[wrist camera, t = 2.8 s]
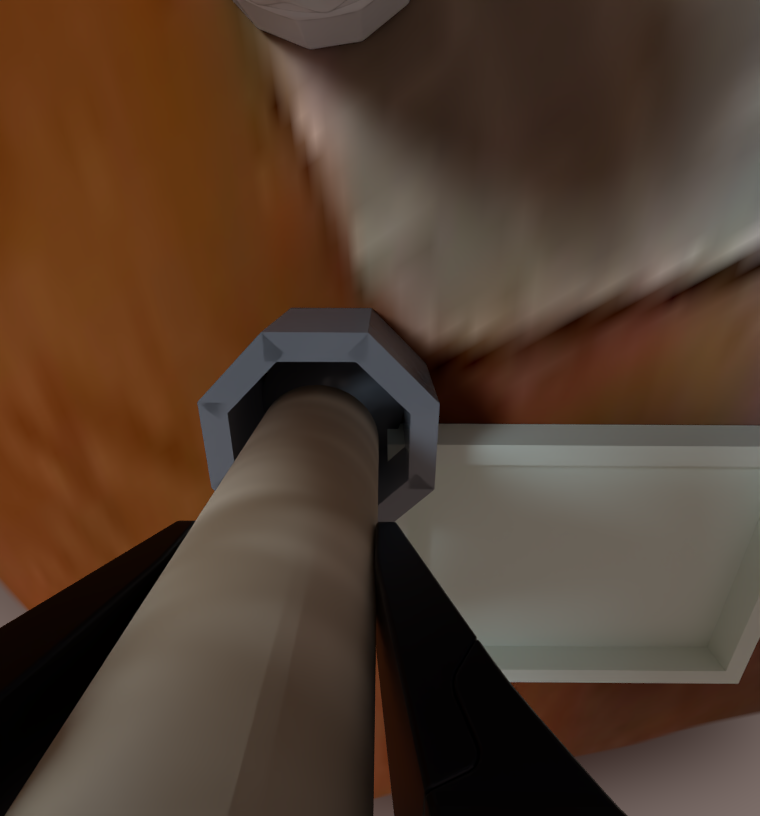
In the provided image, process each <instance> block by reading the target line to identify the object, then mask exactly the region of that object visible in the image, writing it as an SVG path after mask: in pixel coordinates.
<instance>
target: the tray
mask: <svg viewBox="0 0 760 816" xmlns="http://www.w3.org/2000/svg"><path fill="white" fill-rule="evenodd" d="M404 447H405V440H404V430H403V423H400V425H399V428H398V429H387V456H388V461H389V460H390V459H391V458H392V457H393V456H395V455H396V454H397V453H398V452H399V451H400V450H402V449H403V448H404ZM395 522H396V523H397V524H398V526H399V527H400V529H401V530H402V531H403V533H404V534H405V536H406V537H407V538H408V540H409V541H410V543H411V544H412V546H413V547H414V548H415V550H416V551H417V553H418V554H419V556H420V557H421V558H422V560H423V561H424V563H425V564H426V566H427V567H428V568H429V570H430V571H431V573H432V574H433V575H434V577H435V578H436V580H437V581H438V583H439V584H440V585H441V587H442V588H443V590H444V591H445V593H446V594H447V595H448V597H449V598H450V600H451V601H452V603H453V604H454V605H455V607H456V608H457V610H458V611H459V612H460V614H461V615H462V617H463V618H464V620H465V621H466V622H467V624H468V625H469V627H470V628H471V630H472V631H473V632H474V634H475V635H476V637H477V640H479V641H480V642H481V643H482V645H483V646H484V648H485V649H486V651H487V652H488V654H489V655H490V656H491V658H492V659H493V661H494V662H495V663H496V665H497V666H498V667H499V669H500V670H501V671H502V673H503V674H504V675H505V677H506V678H507V679H508V681H509V682H579V683H712V684H738V683H739V681H740V679H741V677H742V675H743V672H744V670H745V668H746V666H747V664H748V662H749V660H750V657H751V655H752V653H753V651H754V649H755V647H756V644H757V642H758V640H759V638H760V426H752V425H578V424H438V440H437V456H436V473H435V489H434V490H433V491H432V492H431V493H430V494H428V495H427V496H426V497H425V498H423V499H422V500H421V501H420V502H418V503H417V504H416V505H415V506H413V507H412V508H411V509H410V510H408V511H407V512H406V513H405V514H403V515H402V516H401V517H400V518H399V519H397V520H396V521H395Z"/></svg>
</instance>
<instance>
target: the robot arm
mask: <svg viewBox="0 0 760 816" xmlns="http://www.w3.org/2000/svg"><path fill="white" fill-rule="evenodd" d="M194 523H195V521H177V522H175V523H173V524H172V525H170V526H168V527H167V528H165V529H163V530H162V531H160V532H158V533H157V534H155V535H153V536H152V537H150V538H148V539H147V540H145V541H143V542H142V543H140V544H138V545H137V546H135V547H133V548H132V549H130V550H129V551H127V552H125V553H124V554H122V555H120V556H119V557H117V558H115V559H114V560H112V561H110V562H109V563H107V564H105V565H104V566H102V567H100V568H99V569H97V570H95V571H94V572H92V573H90V574H89V575H87V576H85V577H84V578H82V579H80V580H79V581H77V582H75V583H74V584H72V585H70V586H69V587H67V588H65V589H64V590H62V591H60V592H59V593H57V594H56V595H54V596H52V597H51V598H49V599H47V600H46V601H44V602H42V603H41V604H39V605H37V606H36V607H34V608H32V609H31V610H29V611H27V612H26V613H24V614H22V615H21V616H19V617H18V618H16V619H14V620H12V621H11V622H9V623H7V624H6V625H4V626H3V627H1V628H0V816H5V814H6V813H7V811H8V809H9V808H10V806H11V805H12V803H13V802H14V800H15V799H16V797H17V796H18V794H19V793H20V791H21V789H22V788H23V786H24V785H25V783H26V782H27V780H28V779H29V777H30V776H31V774H32V772H33V771H34V769H35V768H36V766H37V765H38V763H39V762H40V760H41V759H42V757H43V756H44V754H45V752H46V751H47V749H48V748H49V746H50V745H51V743H52V742H53V740H54V739H55V737H56V735H57V734H58V732H59V731H60V729H61V728H62V726H63V725H64V723H65V722H66V720H67V719H68V717H69V715H70V714H71V712H72V711H73V709H74V708H75V706H76V705H77V703H78V702H79V700H80V698H81V697H82V695H83V694H84V692H85V691H86V689H87V688H88V686H89V685H90V683H91V682H92V680H93V678H94V677H95V675H96V674H97V672H98V671H99V669H100V668H101V666H102V665H103V663H104V662H105V660H106V658H107V657H108V655H109V654H110V652H111V651H112V649H113V648H114V646H115V645H116V643H117V641H118V640H119V638H120V637H121V635H122V634H123V632H124V631H125V629H126V628H127V626H128V625H129V623H130V621H131V620H132V618H133V617H134V615H135V614H136V612H137V611H138V609H139V608H140V606H141V604H142V603H143V601H144V600H145V598H146V597H147V595H148V594H149V592H150V591H151V589H152V588H153V586H154V584H155V583H156V581H157V580H158V578H159V577H160V575H161V574H162V572H163V571H164V569H165V568H166V566H167V564H168V563H169V561H170V560H171V558H172V557H173V555H174V554H175V552H176V551H177V549H178V547H179V546H180V544H181V543H182V541H183V540H184V538H185V537H186V535H187V534H188V532H189V531H190V529H191V527H192V526H193V524H194ZM375 588H376V652H377V661H378V670H379V679H380V689H381V698H382V707H383V716H384V726H385V735H386V744H387V754H388V763H389V772H390V781H391V791H392V800H393V809H394V816H627V815H626V814H625V813H624V812H623V811H622V810H621V809H620V808H619V807H618V806H617V805H616V804H615V803H614V802H613V801H612V799H611V798H610V797H609V796H608V795H607V794H606V793H605V792H604V791H603V790H602V788H601V787H600V786H599V785H598V784H597V783H596V782H595V780H594V779H593V778H592V777H591V776H590V775H589V774H588V773H587V771H585V769H584V768H583V767H582V766H581V764H580V763H579V762H578V761H577V760H576V759H575V758H574V756H573V755H572V754H571V753H570V752H569V751H568V750H567V748H566V747H565V746H564V745H563V744H562V743H561V742H560V740H559V739H558V738H557V737H556V736H555V735H554V734H553V733H552V731H551V730H550V729H549V728H548V727H547V726H546V725H545V723H544V722H543V721H542V720H541V719H540V718H539V717H538V715H537V714H536V713H535V712H534V711H533V710H532V708H531V707H530V706H529V705H528V704H527V702H526V701H525V700H524V699H523V698H522V696H521V695H520V694H519V693H518V692H517V691H516V689H515V688H514V687H513V686H512V685H511V683H510V682H509V681H508V679H507V678H506V677H505V675H504V674H503V673H502V671H501V670H500V669H499V667H498V666H497V665H496V663H495V662H494V661H493V659H492V658H491V656H490V655H489V654H488V652H487V651H486V649H485V648H484V646H483V645H482V643H481V642H480V641H479V640H477V637H476V635H475V634H474V632H473V631H472V630H471V628H470V627H469V625H468V624H467V622H466V621H465V620H464V618H463V617H462V615H461V614H460V612H459V611H458V610H457V608H456V607H455V605H454V604H453V603H452V601H451V600H450V598H449V597H448V595H447V594H446V593H445V591H444V590H443V588H442V587H441V585H440V584H439V583H438V581H437V580H436V578H435V577H434V575H433V574H432V573H431V571H430V570H429V568H428V567H427V566H426V564H425V563H424V561H423V560H422V558H421V557H420V556H419V554H418V553H417V551H416V550H415V548H414V547H413V546H412V544H411V543H410V541H409V540H408V538H407V537H406V536H405V534H404V533H403V531H402V530H401V529H400V527H399V526H398V524H397V523H396V522H378V523H377V524H376V537H375Z"/></svg>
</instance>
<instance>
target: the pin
mask: <svg viewBox="0 0 760 816" xmlns="http://www.w3.org/2000/svg"><path fill="white" fill-rule="evenodd" d="M378 464H379V436H378V430H377V426H376V424H375V421H374V419H373V417H372V415H371V413H370V412H369V411H368V409H367V408H366V407H365V406H364V405H363V404H362V403H361V402H360V401H359V400H358V399H357V398H355V397H354V396H352V395H351V394H349V393H347V392H345V391H343V390H341V389H338V388H335V387H330V386H325V385H308V386H302V387H299V388H295V389H293V390H291V391H288V392H286V393H285V394H283V395H282V396H280V397H279V398H278V399H277V400H276V401H274V403H273V404H272V405H271V406H270V407H269V409H268V410H267V412H266V413H265V415H264V416H263V418H262V420H261V421H260V423H259V424H258V426H257V427H256V429H255V430H254V432H253V433H252V435H251V437H250V438H249V440H248V441H247V443H246V444H245V446H244V447H243V449H242V450H241V452H240V453H239V455H238V457H237V458H236V460H235V461H234V463H233V464H232V466H231V467H230V469H229V470H228V472H227V474H226V475H225V477H224V478H223V480H222V481H221V483H220V484H219V486H218V487H217V489H216V490H215V492H214V494H213V495H212V497H211V498H210V500H209V501H208V503H207V504H206V506H205V507H204V509H203V510H202V512H201V514H200V515H199V517H198V518H197V520H196V521H195V523H194V524H193V526H192V527H191V529H190V531H189V532H188V534H187V535H186V537H185V538H184V540H183V541H182V543H181V544H180V546H179V547H178V549H177V551H176V552H175V554H174V555H173V557H172V558H171V560H170V561H169V563H168V564H167V566H166V568H165V569H164V571H163V572H162V574H161V575H160V577H159V578H158V580H157V581H156V583H155V584H154V586H153V588H152V589H151V591H150V592H149V594H148V595H147V597H146V598H145V600H144V601H143V603H142V604H141V606H140V608H139V609H138V611H137V612H136V614H135V615H134V617H133V618H132V620H131V621H130V623H129V625H128V626H127V628H126V629H125V631H124V632H123V634H122V635H121V637H120V638H119V640H118V641H117V643H116V645H115V646H114V648H113V649H112V651H111V652H110V654H109V655H108V657H107V658H106V660H105V662H104V663H103V665H102V666H101V668H100V669H99V671H98V672H97V674H96V675H95V677H94V678H93V680H92V682H91V683H90V685H89V686H88V688H87V689H86V691H85V692H84V694H83V695H82V697H81V698H80V700H79V702H78V703H77V705H76V706H75V708H74V709H73V711H72V712H71V714H70V715H69V717H68V719H67V720H66V722H65V723H64V725H63V726H62V728H61V729H60V731H59V732H58V734H57V735H56V737H55V739H54V740H53V742H52V743H51V745H50V746H49V748H48V749H47V751H46V752H45V754H44V756H43V757H42V759H41V760H40V762H39V763H38V765H37V766H36V768H35V769H34V771H33V772H32V774H31V776H30V777H29V779H28V780H27V782H26V783H25V785H24V786H23V788H22V789H21V791H20V793H19V794H18V796H17V797H16V799H15V800H14V802H13V803H12V805H11V806H10V808H9V809H8V811H7V813H6V814H5V816H373V798H374V732H375V665H376V588H375V537H376V524H377V523H378Z"/></svg>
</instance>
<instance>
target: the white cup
mask: <svg viewBox="0 0 760 816" xmlns="http://www.w3.org/2000/svg"><path fill="white" fill-rule="evenodd" d="M232 1H233V2H234V3H235V4H236V5H237V6H238V8H239V9H240V10H241V11H242V12H243V13H244V14H245V15H246V16H247V18H248V19H249V20H250V21H251V22H252V23H253V24H254V25H255V26H256V27H257V28H258V29H260V30H263V31H265V32H268V33H270V34H272V35H275V36H277V37H280V38H282V39H285V40H287V41H290V42H292V43H295V44H297V45H300V46H302V47H304V48H307V49H317V48H324V47H330V46H336V45H342V44H348V43H355V42H361V41H363V40H365V39H366V38H367V37H368V36H370V35H371V34H372V33H373V32H374V31H376V30H377V29H378V28H379V27H381V26H382V25H383V24H384V23H386V22H387V21H388V20H389V19H390V18H392V17H393V16H394V15H395V14H397V13H398V12H399V11H400V10H401V9H403V8H404V7H405V6H406V5H407V4H408V3H409V1H410V0H232Z"/></svg>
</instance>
